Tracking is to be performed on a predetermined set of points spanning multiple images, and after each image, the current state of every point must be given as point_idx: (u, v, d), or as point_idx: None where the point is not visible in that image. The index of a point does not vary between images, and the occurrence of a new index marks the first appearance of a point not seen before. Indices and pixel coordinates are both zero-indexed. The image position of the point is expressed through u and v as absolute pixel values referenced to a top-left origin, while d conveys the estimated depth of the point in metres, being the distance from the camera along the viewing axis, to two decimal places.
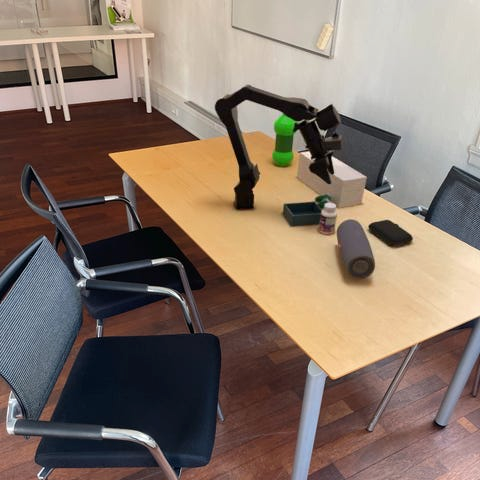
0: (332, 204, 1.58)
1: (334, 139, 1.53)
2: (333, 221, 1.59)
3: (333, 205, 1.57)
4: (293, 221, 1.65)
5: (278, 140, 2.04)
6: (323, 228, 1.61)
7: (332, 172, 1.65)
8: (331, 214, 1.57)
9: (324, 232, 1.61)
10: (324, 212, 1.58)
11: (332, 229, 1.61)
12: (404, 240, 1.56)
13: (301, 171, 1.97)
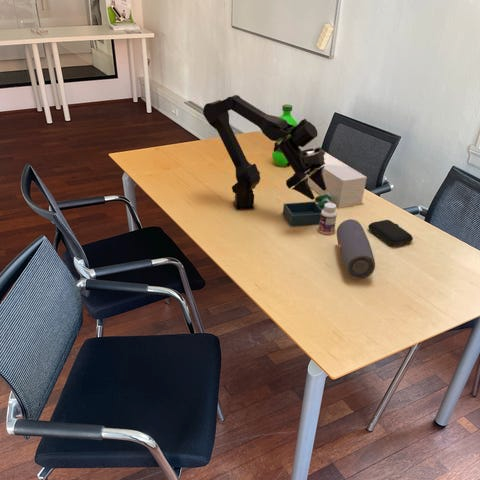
0: (332, 204, 1.58)
1: (313, 154, 1.51)
2: (333, 221, 1.59)
3: (333, 205, 1.57)
4: (293, 221, 1.65)
5: (278, 140, 2.04)
6: (323, 228, 1.61)
7: (324, 188, 1.60)
8: (331, 214, 1.57)
9: (324, 232, 1.61)
10: (324, 212, 1.58)
11: (332, 229, 1.61)
12: (404, 240, 1.56)
13: None
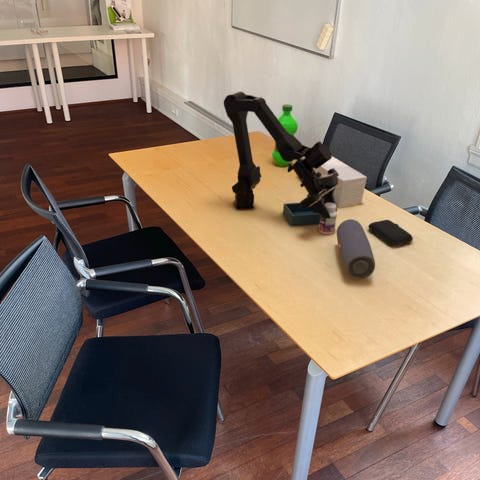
0: (332, 204, 1.58)
1: (327, 175, 1.52)
2: (333, 221, 1.59)
3: (333, 205, 1.58)
4: (293, 221, 1.65)
5: None
6: (323, 228, 1.61)
7: None
8: (331, 214, 1.57)
9: (324, 232, 1.61)
10: None
11: (332, 229, 1.61)
12: (404, 240, 1.56)
13: None
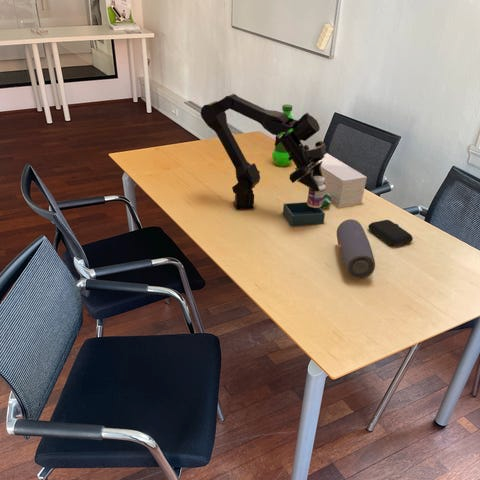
0: (320, 177, 1.58)
1: (315, 147, 1.52)
2: (322, 194, 1.59)
3: (321, 178, 1.57)
4: (293, 221, 1.65)
5: None
6: (311, 202, 1.61)
7: None
8: (320, 187, 1.57)
9: (313, 206, 1.61)
10: None
11: (321, 202, 1.61)
12: (404, 240, 1.56)
13: None
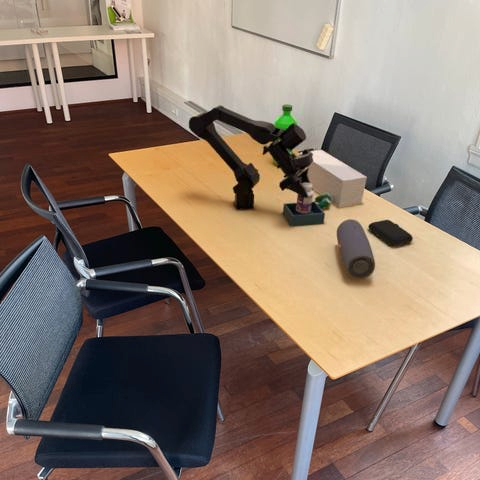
0: (308, 184, 1.63)
1: (302, 156, 1.57)
2: (310, 200, 1.64)
3: (309, 184, 1.63)
4: (293, 221, 1.65)
5: (278, 140, 2.04)
6: (300, 208, 1.66)
7: None
8: (308, 193, 1.62)
9: (302, 211, 1.66)
10: None
11: (309, 208, 1.66)
12: (404, 240, 1.56)
13: None
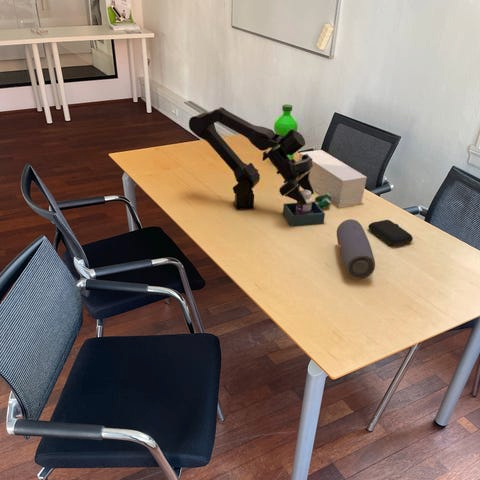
0: (307, 191, 1.65)
1: (302, 161, 1.58)
2: (309, 207, 1.66)
3: (308, 192, 1.64)
4: (293, 221, 1.65)
5: None
6: None
7: (311, 192, 1.68)
8: (307, 200, 1.64)
9: None
10: None
11: None
12: (404, 240, 1.56)
13: None
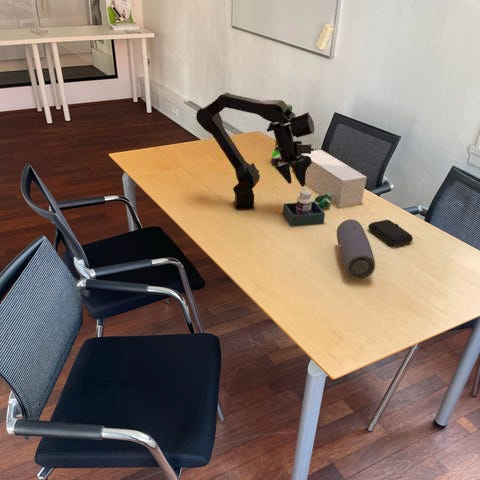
0: (307, 191, 1.65)
1: (304, 144, 1.60)
2: (309, 207, 1.66)
3: (308, 192, 1.64)
4: (293, 221, 1.65)
5: None
6: None
7: (290, 181, 1.69)
8: (307, 200, 1.64)
9: None
10: (300, 199, 1.65)
11: None
12: (404, 240, 1.56)
13: None
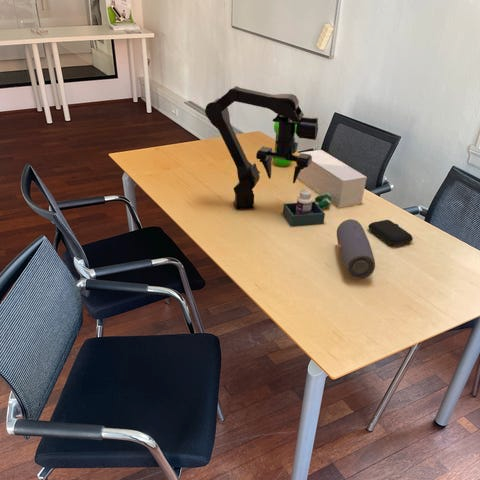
0: (307, 191, 1.65)
1: None
2: (309, 207, 1.66)
3: (308, 192, 1.64)
4: (293, 221, 1.65)
5: None
6: None
7: (270, 176, 1.68)
8: (307, 200, 1.64)
9: None
10: (300, 199, 1.65)
11: None
12: (404, 240, 1.56)
13: (301, 171, 1.97)
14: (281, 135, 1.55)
